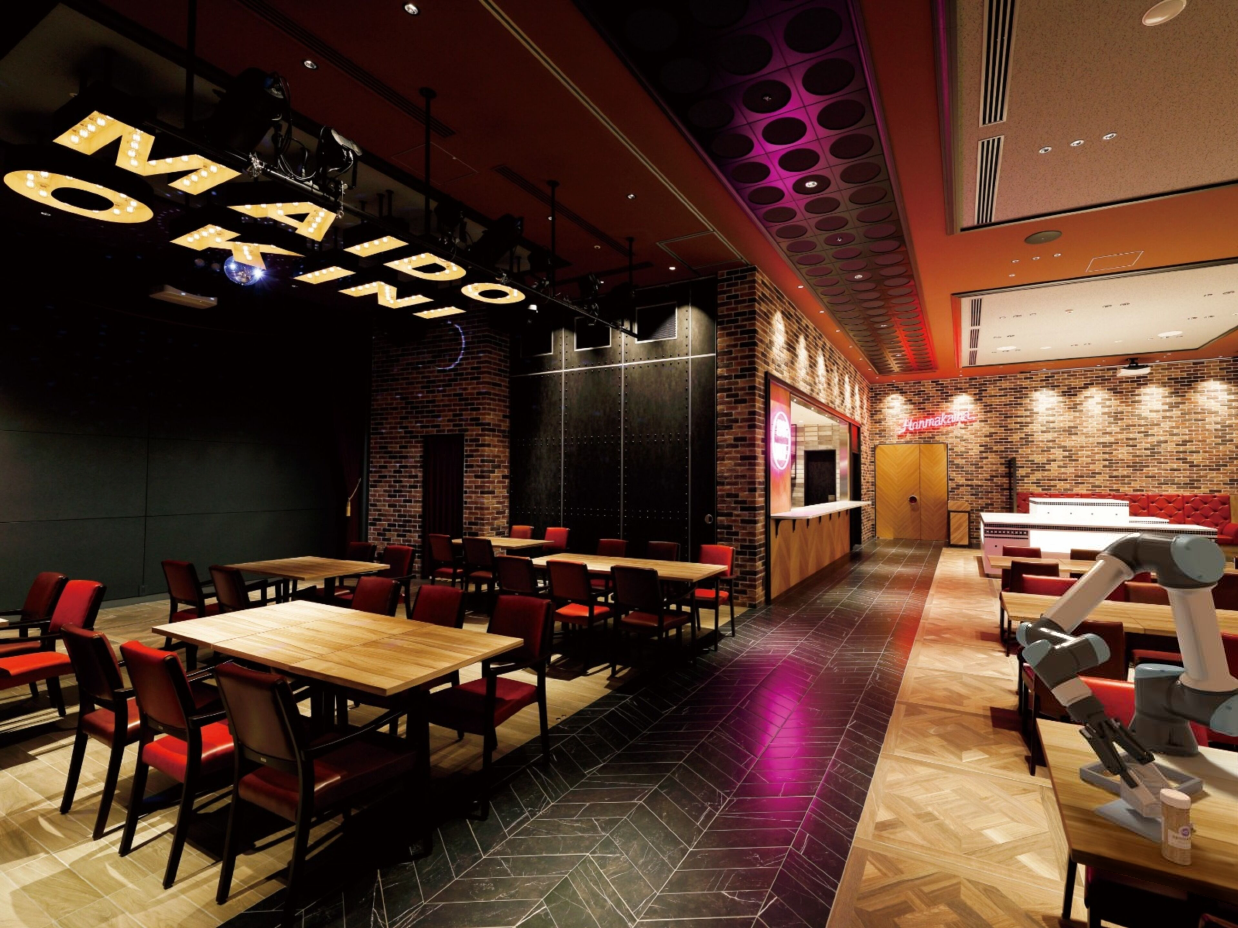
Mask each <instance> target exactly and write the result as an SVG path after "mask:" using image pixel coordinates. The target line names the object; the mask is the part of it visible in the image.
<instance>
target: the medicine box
mask: <svg viewBox="0 0 1238 928" xmlns="http://www.w3.org/2000/svg"><path fill="white" fill-rule="evenodd" d="M1124 764H1125V765H1126V767H1127V769H1128V771H1129V770H1132V771H1133V772H1134V774H1135V775H1136V776H1137V777H1138V778H1139V780H1140V781H1141V782H1142V783H1143V784H1144V786H1145V787H1146V788H1147V789H1148V790H1149V792H1150V793H1151V794H1152V795H1153V796H1154V798H1155V799H1156V800H1157V801H1155V802H1152V803H1150V804H1147V805H1144V804H1143V803H1142V802H1141V800H1140V799H1139V798H1138V797H1137V796H1136V794H1135V793H1134V792H1133V791H1132V789H1131V788H1130V787H1129V786H1128V785H1127V784H1126V782H1125V781H1124V780H1123V779H1122V778H1121V776H1120V775H1119V777H1120V778H1119V779H1120V789H1121V795H1120V798H1122V799H1123V800H1124V801H1125V802H1127V803H1128V804H1129V805H1130V806H1131V807H1133V808H1134V809H1135V810H1136V811H1137V812H1139V813H1140V814H1141V815H1142V816H1143V817H1148V818H1159V819H1161V807H1162V806H1161V799H1160V791H1161V790H1162V789H1164V781H1163V780H1162V779H1160V778H1159V777H1158V776H1156V775H1155V774H1154V773H1152V772H1151V771H1149V770H1148V769H1146V768H1145V767H1144V766H1142V765H1141V764H1134V763H1124Z"/></svg>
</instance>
